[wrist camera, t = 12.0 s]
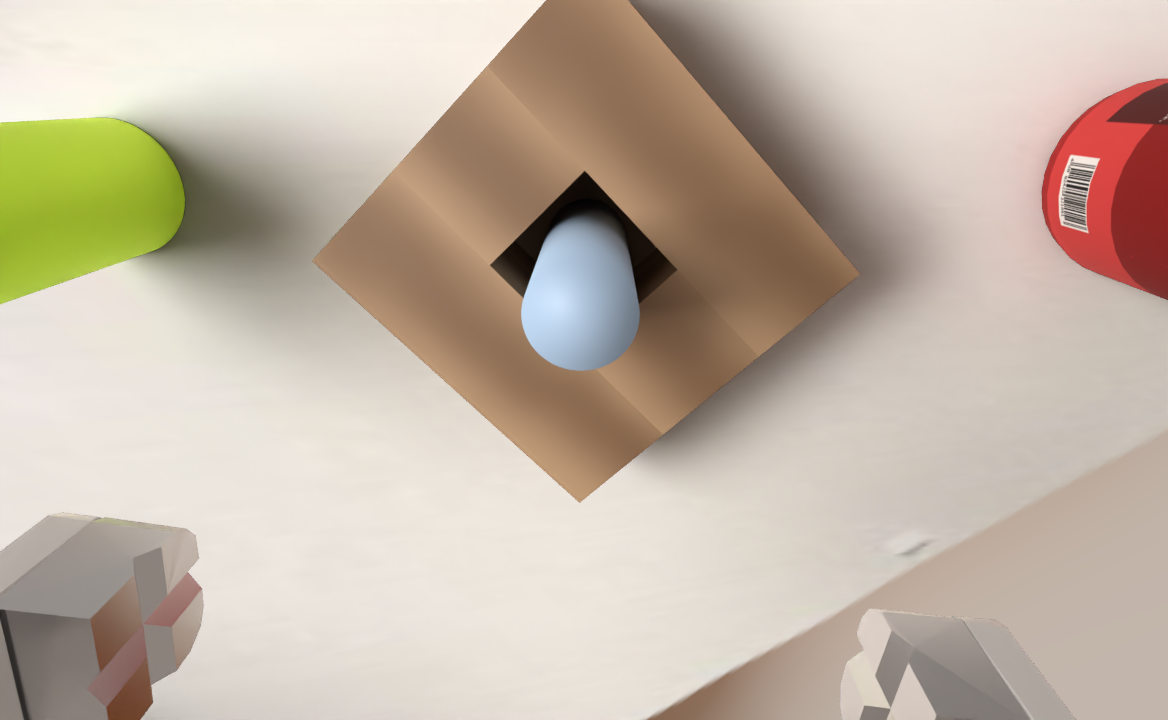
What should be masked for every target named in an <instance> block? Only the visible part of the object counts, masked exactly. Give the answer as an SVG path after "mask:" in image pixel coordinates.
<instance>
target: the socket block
mask: <svg viewBox="0 0 1168 720" xmlns="http://www.w3.org/2000/svg"><path fill="white" fill-rule="evenodd" d="M582 199H592V200H597V201H600V202H603V203H605V204H607V205H608V206H610V207H611V208H612V209H613V210H614V211H615V212H616V213H617V214H618V215H619V217H620V218H621V220H622V222H623V225H624V228H625V232H626V238H627V243H628V249H629V254H630V259H631V265H632V270H633V276H634V281H635V287H636V292H637V298H638V303H639V311H640V318H639V326H638V330H637V333H636V336H635V338H634V340H633V342H632V343H631V345H630V346H629V348H628V349H627V350H626V351H625V352H624V353H623V354H622V355H621V356H620V357H619V358H618V359H616V360H615V361H613V362H612V363H610V364H608V365H606V366H603V367H600V368H597V369H593V370H585V371H576V370H569V369H565V368H561V367H559V366H556V365H554V364H552V363H550V362H549V361H547V360H546V359H544V358H543V357H542V356H540V355H539V354H538V353H537V352H536V351H535V349H534V348H533V347H532V346H531V344H530V342H529V341H528V339H527V337H526V334H525V332H524V329H523V325H522V318H521V309H522V302H523V299H524V295H525V292H526V290H527V287H528V284H529V281H530V279H531V276H532V273H533V270H534V268H535V265H536V262H537V259H538V257H539V254H540V251H541V248H542V246H543V243H544V240H545V237H546V235H547V232H548V229H549V226H550V224H551V222H552V219H553V218H554V216H555V215H556V214H557V212H558V211H559V210H560V209H561V208H563V207H564V206H565V205H567V204H569V203H571V202H574V201H577V200H582ZM312 262H313V263H315V264H316V265H317V266H318V267H319V268H320V269H321V270H322V271H323V272H325V273H326V274H327V275H328V276H329V277H330V278H331V279H332V280H333V281H335V282H336V283H337V284H338V285H339V286H340V287H341V288H342V289H343V290H344V291H346V292H347V293H348V294H349V295H350V296H351V297H352V298H353V299H354V300H356V301H357V302H358V303H359V304H360V305H361V306H362V307H363V308H364V309H366V310H367V311H368V312H369V313H370V314H371V315H372V316H373V317H374V318H376V319H377V320H378V321H379V322H380V323H381V324H382V325H383V326H384V327H385V328H387V329H388V330H389V331H390V332H391V333H392V334H393V335H394V336H395V337H397V338H398V339H399V340H400V341H401V342H402V343H403V344H404V345H405V346H407V347H408V348H409V349H410V350H411V351H412V352H413V353H414V354H415V355H416V356H418V357H419V358H420V359H421V360H422V361H423V362H424V363H425V364H426V365H428V366H429V367H430V368H431V369H432V370H433V371H434V372H435V373H436V374H438V375H439V376H440V377H441V378H442V379H443V380H444V381H445V382H446V383H447V384H449V385H450V386H451V387H452V388H453V389H454V390H455V391H456V392H457V393H459V394H460V395H461V396H462V397H463V398H464V399H465V400H466V401H467V402H469V403H470V404H471V405H472V406H473V407H474V408H475V409H476V410H477V411H478V412H480V413H481V414H482V415H483V416H484V417H485V418H486V419H487V420H488V421H490V422H491V423H492V424H493V425H494V426H495V427H496V428H497V429H498V430H500V431H501V432H502V433H503V434H504V435H505V436H506V437H507V438H508V439H509V440H511V441H512V442H513V443H514V444H515V445H516V446H517V447H518V448H519V449H521V450H522V451H523V452H524V453H525V454H526V455H527V456H528V457H529V458H531V459H532V460H533V461H534V462H535V463H536V464H537V465H538V466H539V467H541V468H542V469H543V470H544V471H545V472H546V473H547V474H548V475H549V476H550V477H552V478H553V479H554V480H555V481H556V482H557V483H558V484H559V485H560V486H562V487H563V488H564V489H565V490H566V491H567V492H568V493H569V494H570V495H572V496H573V497H574V498H575V499H576V500H577V501H578V502H579V503H580V502H581V501H582V500H584V499H585V498H586V497H587V496H589V495H590V494H591V493H592V492H593V491H595V490H596V489H597V488H598V487H600V486H601V485H602V484H603V483H604V482H606V481H607V480H608V479H609V478H611V477H612V476H613V475H614V474H616V473H617V472H618V471H619V470H620V469H622V468H623V467H624V466H625V465H627V464H628V463H629V462H630V461H632V460H633V459H634V458H635V457H636V456H638V455H639V454H640V453H641V452H643V451H644V450H645V449H646V448H647V447H649V446H650V445H651V444H652V443H654V442H655V441H656V440H657V439H659V438H660V437H661V436H662V435H663V434H665V433H666V432H667V431H668V430H670V429H671V428H672V427H673V426H674V425H676V424H677V423H678V422H679V421H681V420H682V419H683V418H684V417H686V416H687V415H688V414H689V413H690V412H692V411H693V410H694V409H695V408H697V407H698V406H699V405H700V404H702V403H703V402H704V401H705V400H706V399H708V398H709V397H710V396H711V395H713V394H714V393H715V392H716V391H717V390H719V389H720V388H721V387H722V386H724V385H725V384H726V383H727V382H729V381H730V380H731V379H732V378H733V377H735V376H736V375H737V374H738V373H740V372H741V371H742V370H743V369H744V368H746V367H747V366H748V365H749V364H751V363H752V362H753V361H754V360H756V359H757V358H758V357H759V356H760V355H762V354H763V353H764V352H765V351H767V350H768V349H769V348H770V347H772V346H773V345H774V344H775V343H776V342H778V341H779V340H780V339H781V338H783V337H784V336H785V335H786V334H787V333H789V332H790V331H791V330H792V329H794V328H795V327H796V326H797V325H799V324H800V323H801V322H802V321H803V320H805V319H806V318H807V317H808V316H810V315H811V314H812V313H813V312H814V311H816V310H817V309H818V308H819V307H821V306H822V305H823V304H824V303H826V302H827V301H828V300H829V299H830V298H832V297H833V296H834V295H835V294H837V293H838V292H839V291H840V290H842V289H843V288H844V287H845V286H846V285H848V284H849V283H850V282H851V281H853V280H854V279H855V278H856V277H857V276H859V275H860V273H859V272H858V271H857V270H856V268H855V267H854V266H853V265H852V264H851V262H850V261H849V260H848V259H847V258H846V257H845V255H844V254H843V253H842V252H841V251H840V249H839V248H838V247H837V246H836V245H835V244H834V242H833V241H832V240H831V239H830V238H829V237H828V235H827V234H826V233H825V232H824V231H823V229H822V228H821V227H820V226H819V225H818V224H817V222H816V221H815V220H814V219H813V218H812V217H811V215H810V214H809V213H808V212H807V211H806V209H805V208H804V207H803V206H802V205H801V204H800V202H799V201H798V200H797V199H796V198H795V196H794V195H793V194H792V193H791V192H790V191H789V189H788V188H787V187H786V186H785V185H784V184H783V182H782V181H781V180H780V179H779V178H778V176H777V175H776V174H775V173H774V172H773V171H772V169H771V168H770V167H769V166H768V165H767V163H766V162H765V161H764V160H763V159H762V158H761V156H760V155H759V154H758V153H757V152H756V151H755V149H754V148H753V147H752V146H751V145H750V143H749V142H748V141H747V140H746V139H745V138H744V136H743V135H742V134H741V133H740V132H739V131H738V129H737V128H736V127H735V126H734V125H733V123H732V122H731V121H730V120H729V119H728V118H727V116H726V115H725V114H724V113H723V112H722V110H721V109H720V108H719V107H718V106H717V105H716V103H715V102H714V101H713V100H712V99H711V98H710V96H709V95H708V94H707V93H706V92H705V90H704V89H703V88H702V87H701V86H700V85H699V83H698V82H697V81H696V80H695V79H694V77H693V76H692V75H691V74H690V73H689V72H688V70H687V69H686V68H685V67H684V66H683V65H682V63H681V62H680V61H679V60H678V59H677V57H676V56H675V55H674V54H673V53H672V52H671V50H670V49H669V48H668V47H667V46H666V44H665V43H664V42H663V41H662V40H661V39H660V37H659V36H658V35H657V34H656V33H655V32H654V30H653V29H652V28H651V27H650V26H649V24H648V23H647V22H646V21H645V20H644V19H643V17H642V16H641V15H640V14H639V13H638V12H637V10H636V9H635V8H634V7H633V6H632V4H631V3H630V2H629V1H628V0H546V1H545V2H544V3H543V4H542V6H541V7H540V8H539V9H538V10H537V11H536V12H535V13H534V14H533V16H532V17H531V18H530V19H529V20H528V21H527V22H526V23H525V24H524V26H523V27H522V28H521V29H520V30H519V31H518V32H517V33H516V34H515V36H514V37H513V38H512V39H511V40H510V41H509V42H508V43H507V45H506V46H505V47H504V48H503V49H502V50H501V51H500V52H499V53H498V55H497V56H496V57H495V58H494V59H493V60H492V61H491V62H490V63H489V65H488V66H487V67H486V68H485V69H484V70H483V71H482V72H481V73H480V75H479V76H478V77H477V78H476V79H475V80H474V81H473V82H472V83H471V85H470V86H469V87H468V88H467V89H466V90H465V91H464V92H463V93H462V95H461V96H460V97H459V98H458V99H457V100H456V101H455V102H454V103H453V105H452V106H451V107H450V108H449V109H448V110H447V111H446V112H445V114H444V115H443V116H442V117H441V118H440V119H439V120H438V121H437V122H436V124H435V125H434V126H433V127H432V128H431V129H430V130H429V131H428V132H427V134H426V135H425V136H424V137H423V138H422V139H421V140H420V141H419V142H418V144H417V145H416V146H415V147H414V148H413V149H412V150H411V151H410V152H409V154H408V155H407V156H406V157H405V158H404V159H403V160H402V161H401V162H400V164H399V165H398V166H397V167H396V168H395V169H394V170H393V171H392V173H391V174H390V175H389V176H388V177H387V178H386V179H385V180H384V181H383V183H382V184H381V185H380V186H379V187H378V188H377V189H376V190H375V191H374V193H373V194H372V195H371V196H370V197H369V198H368V199H367V200H366V201H365V203H364V204H363V205H362V206H361V207H360V208H359V209H358V210H357V211H356V213H355V214H354V215H353V216H352V217H351V218H350V219H349V220H348V221H347V223H346V224H345V225H344V226H343V227H342V228H341V229H340V230H339V231H338V233H337V234H336V235H335V236H334V237H333V238H332V239H331V240H330V242H329V243H328V244H327V245H326V246H325V247H324V248H323V249H322V250H321V252H320V253H319V254H318V255H317V256H316V257H315V258H314V259H313V260H312Z"/></svg>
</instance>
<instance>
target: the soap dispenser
mask: <svg viewBox="0 0 1168 720" xmlns="http://www.w3.org/2000/svg"><path fill="white" fill-rule="evenodd" d="M184 209H185V195H184V189H183V184H182V181H181V178H180V175H179V173H178V170H177V168H176V166H175V165H174V163H173V161H172V160H171V158H170V157H169V155H168V154H167V152H166V151H165V150H164V149H163V148H162V147H161V145H160V144H159V143H158V142H157V141H155V140H154V139H153V138H152V137H151V136H150V135H148V134H147V133H145V132H144V131H142V130H141V129H139V128H137V127H135V126H133V125H131V124H129V123H127V122H124V121H121V120H117V119H112V118H80V119H61V120H41V121H22V122H3V123H0V304H2V303H5V302H8V301H11V300H14V299H17V298H20V297H22V296H25V295H28V294H31V293H34V292H37V291H40V290H42V289H45V288H48V287H51V286H54V285H57V284H60V283H62V282H65V281H68V280H71V279H74V278H77V277H80V276H82V275H85V274H88V273H91V272H94V271H97V270H100V269H102V268H105V267H108V266H111V265H114V264H117V263H120V262H122V261H125V260H128V259H131V258H134V257H137V256H140V255H142V254H145V253H148V252H151V251H154V250H156V249H158V248H160V247H162V246H163V245H165V244H166V243H167V242H169V241H170V240H171V239H172V237H173V236H174V235H175V234H176V232H177V231H178V229H179V227H180V225H181V222H182V219H183V215H184Z"/></svg>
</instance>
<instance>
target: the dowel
mask: <svg viewBox="0 0 1168 720" xmlns="http://www.w3.org/2000/svg"><path fill="white" fill-rule="evenodd" d="M521 318H522V325H523V329H524V332H525V334H526V337H527V339H528V341H529V342H530V344H531V346H532V347H533V348H534V349H535V351H536V352H537V353H538V354H539V355H540V356H542V357H543V358H544V359H546V360H547V361H549V362H550V363H552V364H554V365H556V366H559V367H561V368H565V369H569V370H576V371H585V370H593V369H597V368H600V367H603V366H606V365H608V364H610V363H612V362H613V361H615V360H616V359H618V358H619V357H620V356H621V355H622V354H623V353H624V352H625V351H626V350H627V349H628V348H629V346H630V345H631V343H632V342H633V340H634V338H635V336H636V333H637V330H638V326H639V318H640V311H639V303H638V298H637V292H636V287H635V281H634V276H633V270H632V265H631V259H630V254H629V249H628V243H627V238H626V232H625V228H624V225H623V222H622V220H621V218H620V217H619V215H618V214H617V213H616V212H615V211H614V210H613V209H612V208H611V207H610V206H608V205H607V204H605V203H603V202H600V201H597V200H592V199H582V200H577V201H574V202H571V203H569V204H567V205H565V206H564V207H563V208H561V209H560V210H559V211H558V212H557V214H556V215H555V216H554V218H553V219H552V222H551V224H550V226H549V229H548V232H547V235H546V237H545V240H544V243H543V246H542V248H541V251H540V254H539V257H538V259H537V262H536V265H535V268H534V270H533V273H532V276H531V279H530V281H529V284H528V287H527V290H526V292H525V295H524V299H523V302H522V309H521Z"/></svg>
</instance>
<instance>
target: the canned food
mask: <svg viewBox="0 0 1168 720" xmlns="http://www.w3.org/2000/svg"><path fill="white" fill-rule="evenodd" d="M1042 209H1043V213H1044V217H1045V222H1046V225H1047V227H1048V229H1049V231H1050V233H1051V235H1052V237H1053V238H1054V239H1055V241H1056V242H1057V243H1058V244H1059V245H1060V246H1061V248H1062V249H1063V250H1064V251H1065V252H1066V254H1067V255H1068V256H1069V257H1070V258H1071V259H1073V260H1074V261H1075V262H1077V263H1078V264H1080V265H1081V266H1082V267H1084V268H1086V269H1089V270H1091V271H1094V272H1096V273H1098V274H1101V275H1104V276H1106V277H1109V278H1111V279H1114V280H1117V281H1119V282H1122V283H1125V284H1127V285H1130V286H1132V287H1135V288H1138V289H1140V290H1143V291H1146V292H1148V293H1151V294H1153V295H1156V296H1159V297H1161V298H1164V299H1166V300H1168V79H1156V80H1152V81H1147V82H1143V83H1139V84H1136V85H1133V86H1131V87H1129V88H1126V89H1124V90H1122V91H1120V92H1117V93H1115V94H1113V95H1111V96H1109V97H1106V98H1105V99H1103V100H1101V101H1100V102H1098V103H1097V104H1095V105H1094V106H1092V107H1091V108H1089V109H1088V110H1087V111H1086V112H1085V113H1083V114H1082V115H1081V116H1080V117H1079V118H1078V119H1077V120H1076V121H1075V122H1074V123H1073V124H1072V125H1071V126H1070V128H1069V129H1068V130H1067V131H1066V133H1065V134H1064V135H1063V136H1062V138H1061V139H1060V141H1059V142H1058V144H1057V146H1056V148H1055V150H1054V151H1053V153H1052V155H1051V157H1050V160H1049V163H1048V166H1047V168H1046V171H1045V175H1044V181H1043V187H1042Z"/></svg>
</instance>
